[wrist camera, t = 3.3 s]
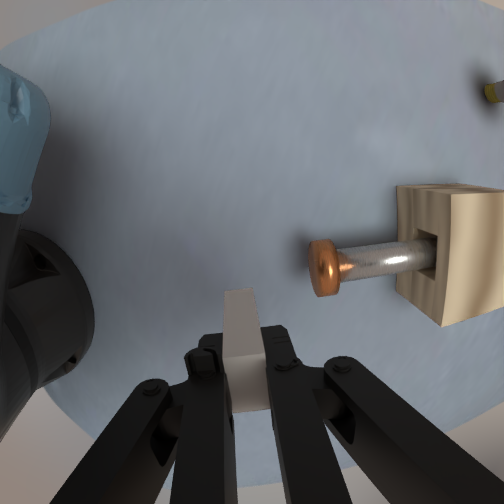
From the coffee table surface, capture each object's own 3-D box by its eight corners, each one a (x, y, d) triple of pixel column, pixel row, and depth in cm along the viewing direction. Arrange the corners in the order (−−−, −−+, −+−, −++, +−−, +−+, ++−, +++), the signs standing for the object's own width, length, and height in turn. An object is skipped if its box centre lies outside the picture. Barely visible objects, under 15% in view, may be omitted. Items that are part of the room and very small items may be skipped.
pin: (309, 285, 25) (323, 306, 21) (306, 235, 24) (321, 248, 20) (445, 263, 25) (471, 276, 21) (447, 220, 24) (475, 229, 20)
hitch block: (395, 291, 28) (441, 327, 21) (396, 186, 26) (451, 194, 18) (456, 278, 29) (504, 306, 21) (460, 183, 26) (516, 192, 18)
